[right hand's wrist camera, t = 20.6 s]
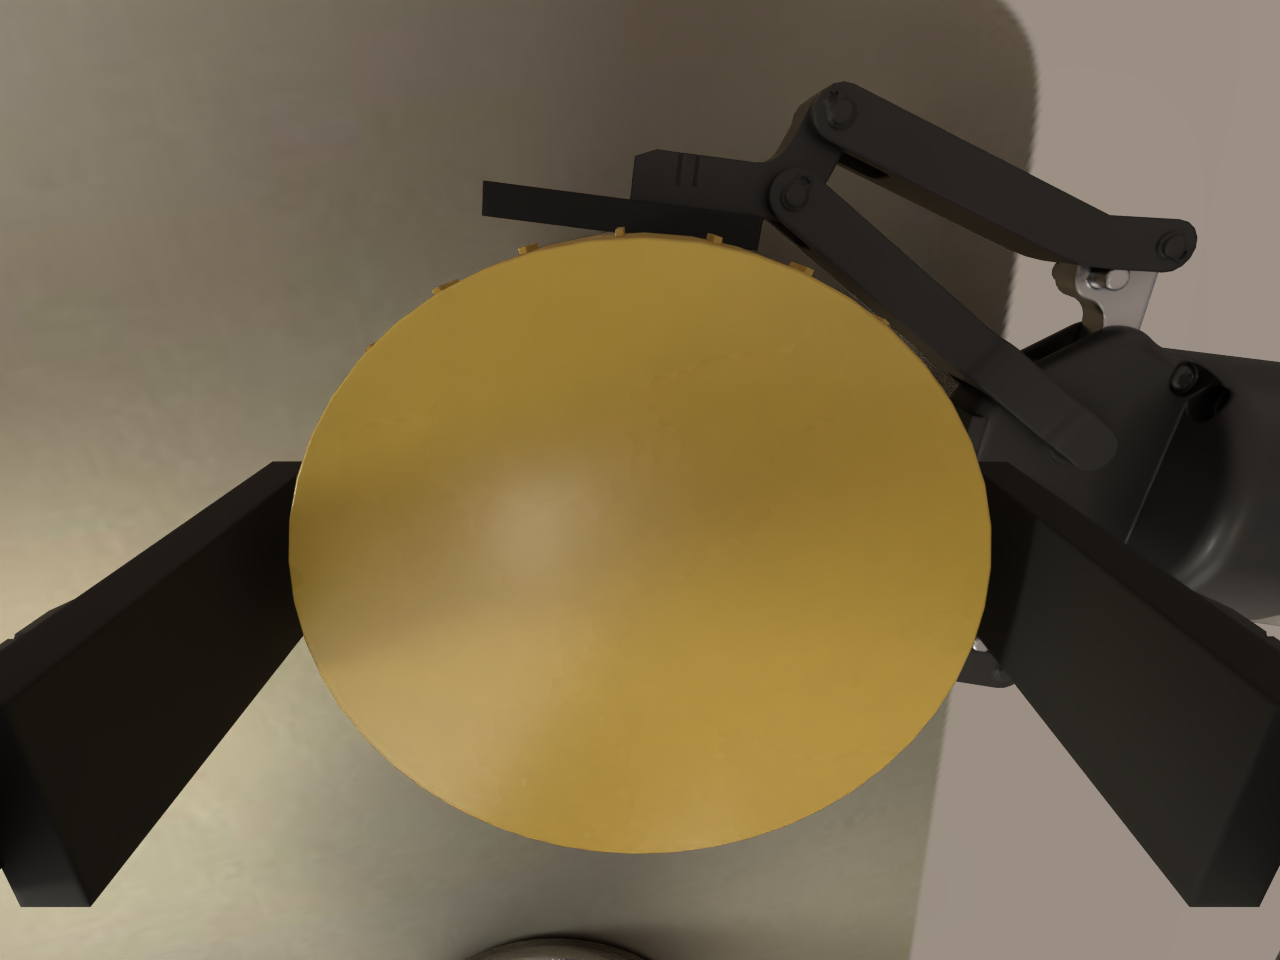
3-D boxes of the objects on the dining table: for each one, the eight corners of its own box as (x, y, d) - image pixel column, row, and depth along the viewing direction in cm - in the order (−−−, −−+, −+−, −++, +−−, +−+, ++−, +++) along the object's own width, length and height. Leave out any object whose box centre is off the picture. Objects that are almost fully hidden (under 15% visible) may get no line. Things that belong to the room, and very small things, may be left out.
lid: (637, 866, 15) (637, 939, 13) (203, 550, 12) (142, 599, 10) (1073, 560, 12) (1134, 610, 10) (644, 48, 9) (644, 19, 8)
